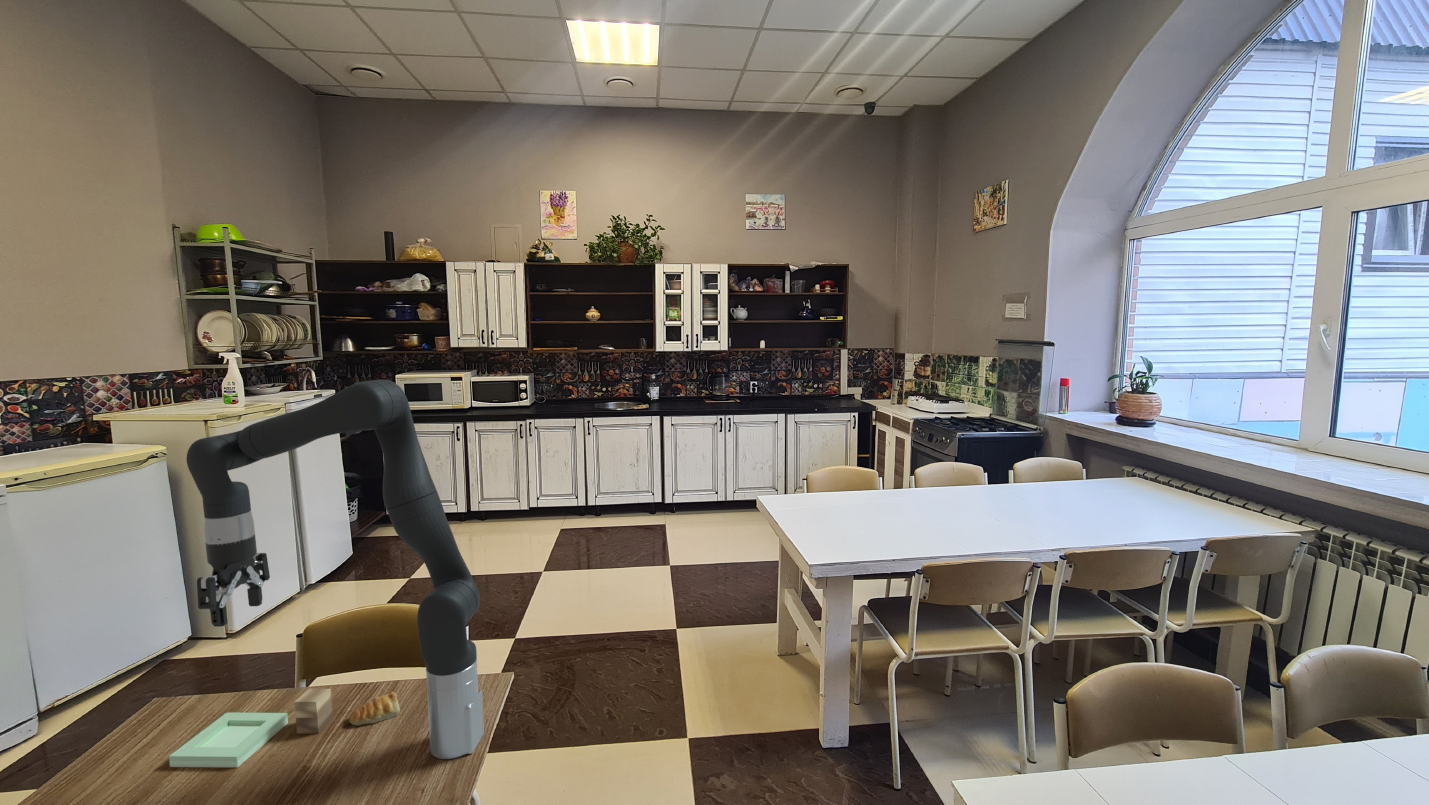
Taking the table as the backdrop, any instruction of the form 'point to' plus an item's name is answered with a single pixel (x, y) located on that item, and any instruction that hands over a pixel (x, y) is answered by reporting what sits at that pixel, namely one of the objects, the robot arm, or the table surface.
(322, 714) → the wooden block
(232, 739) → the plate
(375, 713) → the pastry
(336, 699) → the table surface
